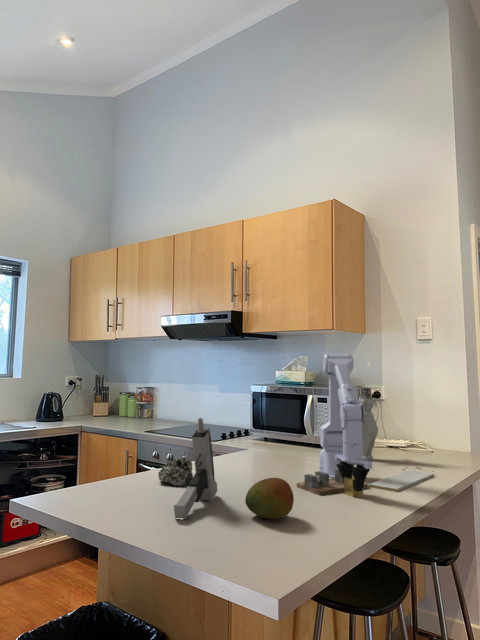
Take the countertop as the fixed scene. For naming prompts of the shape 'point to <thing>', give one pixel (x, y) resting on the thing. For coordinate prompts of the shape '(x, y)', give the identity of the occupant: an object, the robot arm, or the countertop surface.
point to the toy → (368, 424)
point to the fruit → (270, 498)
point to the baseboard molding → (401, 480)
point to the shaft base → (326, 489)
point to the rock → (177, 472)
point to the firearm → (199, 473)
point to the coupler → (351, 487)
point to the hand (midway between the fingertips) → (353, 489)
